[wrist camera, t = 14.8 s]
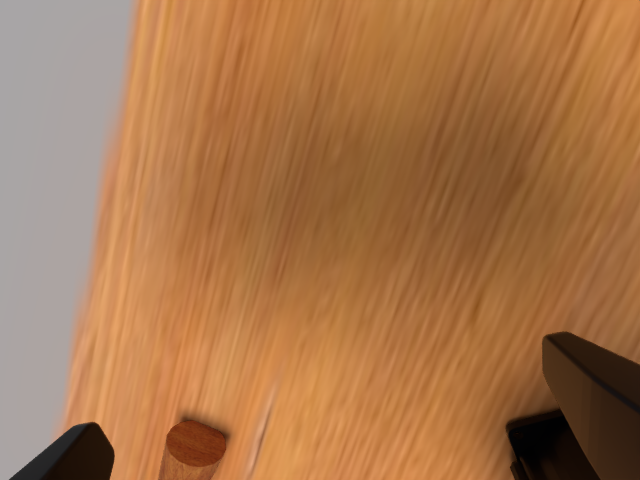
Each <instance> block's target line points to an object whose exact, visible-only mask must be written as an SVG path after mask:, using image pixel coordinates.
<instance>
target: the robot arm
mask: <svg viewBox="0 0 640 480" xmlns="http://www.w3.org/2000/svg"><path fill="white" fill-rule="evenodd" d="M542 368H543V374H544V377H545V379H546V382H547V384H548V386H549V387H550V389H551V391H552V393H553V395H554V397H555V399H556V401H557V403H558V404H559V406H560V408H561V410H558V411H554V412H551V413H547V414H543V415H539V416H535V417H531V418H527V419H524V420H520V421H516V422H512V423H510V424H509V425H508V426H507V427H506V433H507V436H508V438H509V441H510V444H511V446H512V449H513V451H514V454H515V456H516V459H517V461H516V462H512V464H511V467H510V468H511V471H512V473H513V476H514V478H515V480H640V365H639V364H637V363H635V362H633V361H631V360H629V359H626V358H624V357H622V356H620V355H618V354H615V353H613V352H611V351H609V350H607V349H605V348H602V347H600V346H598V345H596V344H594V343H592V342H589V341H587V340H585V339H583V338H581V337H578V336H576V335H574V334H572V333H569V332H558V333H552V334H547V335H545V336H544V337H543V341H542ZM517 431H520V433H518V434H514V433H515V432H517ZM114 457H115V455H114V449H113V447H112V445H111V444H110V442H109V440H108V439H107V437H106V435H105V434H104V432H103V430H102V429H101V427H100V426H99V425H98V424H97V423H95V422H89V423H83V424H78V425H75V426H73V427H72V428H70V429H69V430H68V431H67V432H65V433H64V434H63V435H62V436H61V437H59V438H58V439H57V440H56V441H55V442H53V443H52V444H51V445H50V446H49V447H47V449H45V450H44V451H43V452H42V453H40V454H39V455H38V456H37V457H35V458H34V459H33V460H32V461H31V462H29V463H28V464H27V465H26V466H25V467H24V468H22V469H21V470H20V471H19V472H17V473H16V474H15V475H14V476H13V477H11V478H10V479H9V480H110V476H111V472H112V468H113V464H114Z"/></svg>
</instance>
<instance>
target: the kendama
mask: <svg viewBox="0 0 640 480" xmlns="http://www.w3.org/2000/svg"><path fill="white" fill-rule="evenodd" d="M225 450H226V444H225V439H224V437H223V436H222V434H221V432H220V431H218V430H215V429H213V428H211V427H208V426H206V425H203V424H201V423H198V422H196V421H193V420H190V421H185V422H181V423H179V424H177V425H175V426H174V427H172V429H171V430H170V431H169V433H168V434H167V438H166V443H165V448H164V453H163V458H162V463H161V468H160V473H159V478H158V480H210V479H211V477H212V475H213V473H214V472H215V470H216V468H217V466H218V464H219V462H220V461H221V459H222V457H223V455H224V452H225Z"/></svg>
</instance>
